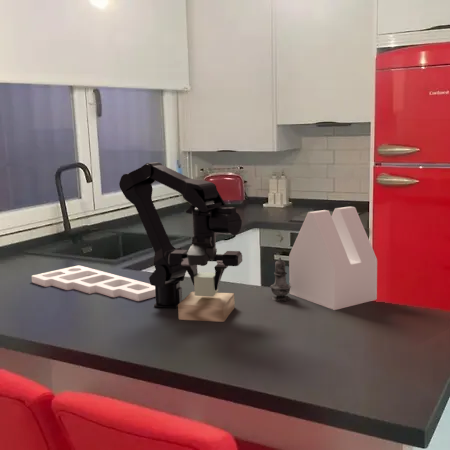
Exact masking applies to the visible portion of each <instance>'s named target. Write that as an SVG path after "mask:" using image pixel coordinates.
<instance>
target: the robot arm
mask: <svg viewBox="0 0 450 450" xmlns="http://www.w3.org/2000/svg"><path fill="white" fill-rule="evenodd" d="M156 182H158V183H159V184H161V185H163V186H165V187H168V188H170V189H172V190H173V191H176V192H178V193H179V194H181V196H182V198H183V200H184V201H186V202H187V203H189V204H190V206H189V207H188V208H187V210H185V214H190V215H192V233H193V235H192V237H191V238H192V239H191V245H190V247H189V248H188V249H183V248H181V247H178V248H176V247H174V245H172V243H171V240H170V238H169V236H168V234H167V232H166V229H165V227H164V225H163V223H162V220H161V218H160V216H159V213H158V211H157V209H156V206H155V204H154V202H153V199H152V197H153V189H154V188H153V184H154V183H156ZM118 184H119V185H118V186H119V188H120V191H121V192H122V194H123V196H124V197H125V199H126V200H127V201H129V202H130V203H131V204H132V205H134V207H135V208H136V211H137V214H138V216H139V218H140V221H141V223H142V225H143V228H144V229H145V230H144V231H145V232H146V235H147V237H148V239H149V242H150V244H151V246H152V249H153V252H154V258H153V265H154V268H155V269H154V271H153V272H152V273H151V274H150V276H149V277H148V281H149V284H151V285H153V286H155V294H156V296H155V304H153V307H154V308H170V309H172V308H173V309H175V308H178V304H179V303H180V302H181V301H182V300H183V288H182V286H181V283H180V282H183V281H184V279H185V277H186V273H187V274H188V275H189V277H190V279H191V282H192V285H193V286H194V277H195V276H196V275H197V274H198V273H199V272H198V266H201V267H204V266H207V265H208V262H216V263H217V264H216V265H215V266H214V271H215V272H214V273H215V290H217V289H218V290H219V286H220V284H221V283H220V282H221V279H222V276H223V274H224V272H225V270H226V269H227V268H228V267H238V266H240V264H241V263H242V262H243V253H242V252H241V250H226V251H225V252H224V253H223V254H221V253H220V254H219V253H217V252H218V250H217V249H218V248H217V246H216V245H217V243H216V239H217V234H221V235H229V236H236V235H238V234H239V233H240V231H241V228H242V223H243V221H242V220H243V219H242V218H241V216H240V214H239V213H238V212H237V208H236V207H233V206H231V207H230V206H229V207H227V204H226V202H225V201H224V200H223V198H222V196H221V194H220V192H219V191H218V188H217V185H216V184H215V183H214V182H211V181H207V180H204V179H194V178H190V177H188V176H187V175H184V174H182V173H180V172H177V171H176V170H174V169H172V168H170V167H167V166H165V165H164V164H162V163H161V162H158V161H154V162H146V163H145V164H143V165H142V166H141V167H138V168H137V169H134V170H132V171H130V172H128V173H123V174H122V175H121V176H120V180H119V183H118Z"/></svg>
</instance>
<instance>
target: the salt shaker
mask: <svg viewBox="0 0 450 450" xmlns="http://www.w3.org/2000/svg"><path fill="white" fill-rule="evenodd" d="M274 263H275V264H274V265H275V266H274V267H275V268H274V270H275V271H274V272H273V274H274V283H273V284H271V285H270V286H269V288H271V293H272V294H273V296H272V297H271V300H272V301H275V302H286V301H290V299H291V297H290V296H288V294H290V288H291V286H290V283H289V284H288V283H287V281H286V279H287V278H286V275H287V274H288V273H287V272H286V262H285V261H284V260H282V258H281V257H279V258H278V260H276V261H275V262H274Z"/></svg>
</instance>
